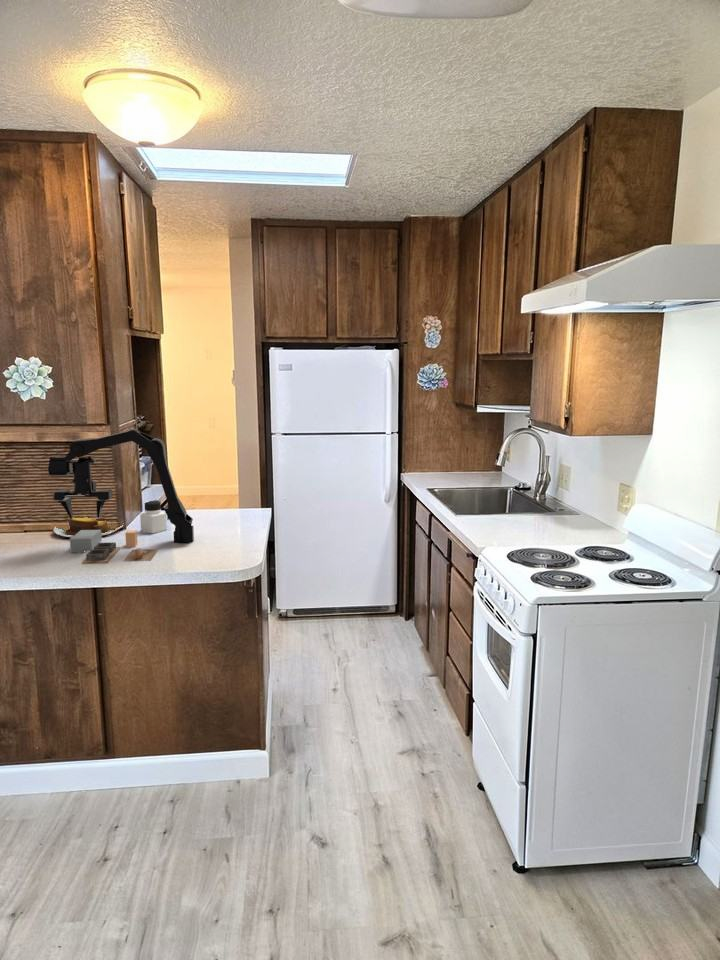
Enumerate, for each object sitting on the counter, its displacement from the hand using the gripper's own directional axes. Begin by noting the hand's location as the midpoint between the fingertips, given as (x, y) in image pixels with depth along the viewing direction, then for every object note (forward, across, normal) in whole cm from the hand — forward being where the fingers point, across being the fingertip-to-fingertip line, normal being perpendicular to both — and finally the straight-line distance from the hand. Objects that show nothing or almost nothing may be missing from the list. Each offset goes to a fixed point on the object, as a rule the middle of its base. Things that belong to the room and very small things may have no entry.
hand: (85, 518), depth 223 cm
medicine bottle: (+11, -19, -22) cm, 31 cm away
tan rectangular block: (+11, -16, +1) cm, 19 cm away
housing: (+11, 0, 0) cm, 11 cm away
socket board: (+11, -9, +13) cm, 19 cm away
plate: (+11, -22, +13) cm, 28 cm away
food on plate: (+11, +6, -23) cm, 26 cm away
